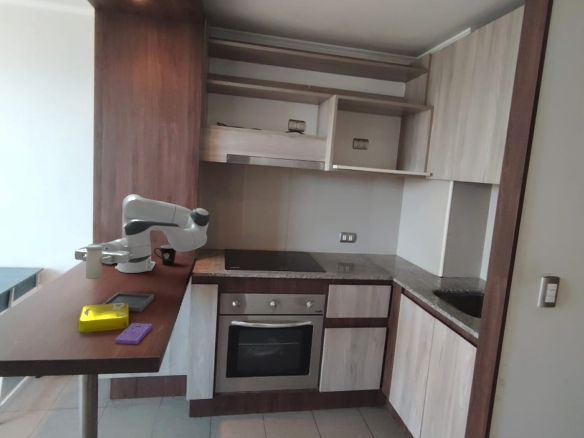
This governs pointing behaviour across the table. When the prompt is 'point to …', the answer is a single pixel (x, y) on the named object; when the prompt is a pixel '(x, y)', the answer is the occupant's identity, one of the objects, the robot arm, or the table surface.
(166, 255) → the coffee mug
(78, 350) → the table surface
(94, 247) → the tin
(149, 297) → the tray
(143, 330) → the sponges
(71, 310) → the table surface
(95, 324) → the element tile
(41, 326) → the table surface
